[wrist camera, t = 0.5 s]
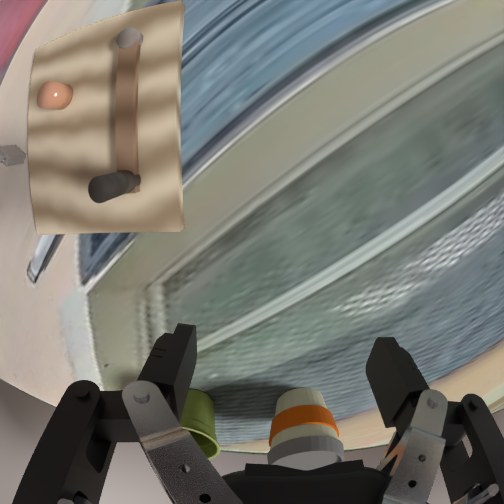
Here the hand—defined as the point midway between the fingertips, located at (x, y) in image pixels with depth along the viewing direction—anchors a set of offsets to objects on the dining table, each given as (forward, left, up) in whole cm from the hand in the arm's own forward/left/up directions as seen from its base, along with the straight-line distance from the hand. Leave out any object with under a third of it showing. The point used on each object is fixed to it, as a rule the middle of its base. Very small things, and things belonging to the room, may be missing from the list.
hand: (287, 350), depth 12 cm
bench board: (-14, -24, -26) cm, 39 cm away
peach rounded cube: (-19, -29, -24) cm, 43 cm away
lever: (-15, -17, -24) cm, 33 cm away
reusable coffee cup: (+36, +7, -27) cm, 45 cm away
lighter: (-13, -43, -27) cm, 53 cm away
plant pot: (+36, -13, -27) cm, 47 cm away
